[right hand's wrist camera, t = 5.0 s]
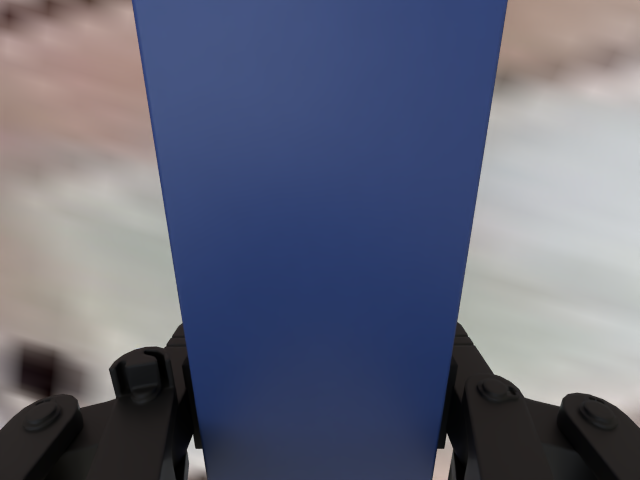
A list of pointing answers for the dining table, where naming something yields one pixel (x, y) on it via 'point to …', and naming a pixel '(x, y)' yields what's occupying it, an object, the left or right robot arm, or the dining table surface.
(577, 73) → the dining table surface
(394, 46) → the bar
